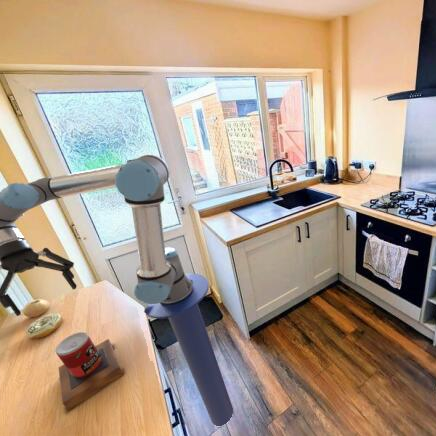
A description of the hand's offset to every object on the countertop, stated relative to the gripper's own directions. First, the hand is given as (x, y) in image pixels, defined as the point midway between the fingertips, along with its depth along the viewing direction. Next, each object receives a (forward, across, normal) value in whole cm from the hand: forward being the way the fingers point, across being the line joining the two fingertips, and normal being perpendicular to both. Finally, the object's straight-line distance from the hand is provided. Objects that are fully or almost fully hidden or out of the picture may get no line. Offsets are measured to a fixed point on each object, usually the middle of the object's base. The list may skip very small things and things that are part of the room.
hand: (49, 300), depth 76 cm
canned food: (+24, +1, -5) cm, 24 cm away
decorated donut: (0, -1, -39) cm, 39 cm away
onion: (-10, -4, -51) cm, 52 cm away
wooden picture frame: (+27, 0, -8) cm, 28 cm away
